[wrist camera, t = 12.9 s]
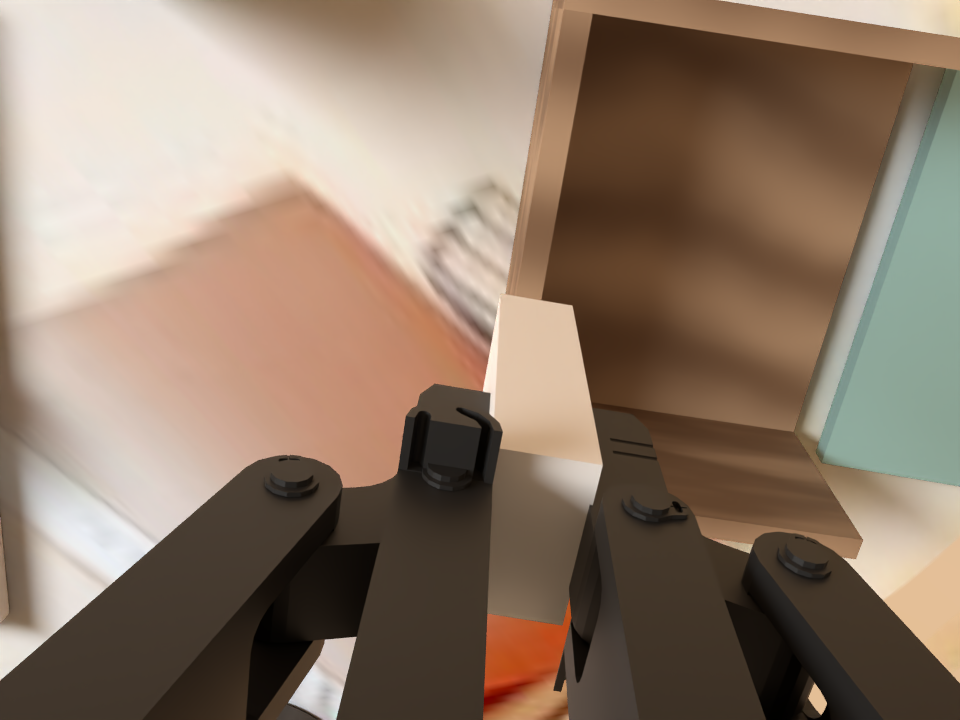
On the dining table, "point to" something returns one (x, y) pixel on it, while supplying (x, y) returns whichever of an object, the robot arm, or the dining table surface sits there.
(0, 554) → the serving tray
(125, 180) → the dining table surface
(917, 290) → the panel
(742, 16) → the crate
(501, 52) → the dining table surface
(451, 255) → the dining table surface
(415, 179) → the dining table surface
